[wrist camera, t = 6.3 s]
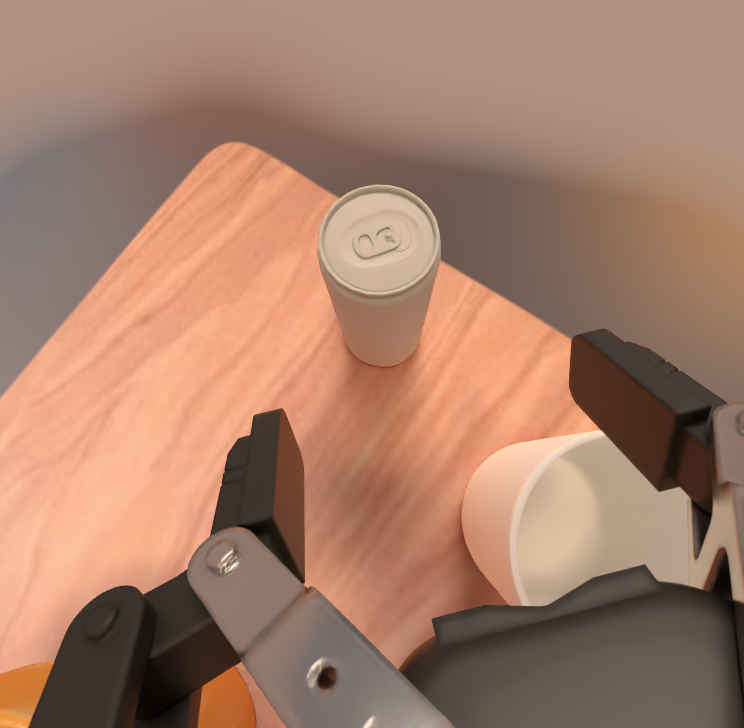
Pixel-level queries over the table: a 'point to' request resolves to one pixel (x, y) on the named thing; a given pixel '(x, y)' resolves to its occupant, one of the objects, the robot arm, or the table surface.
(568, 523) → the mug
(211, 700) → the flower pot
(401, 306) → the beverage can
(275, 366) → the table surface
